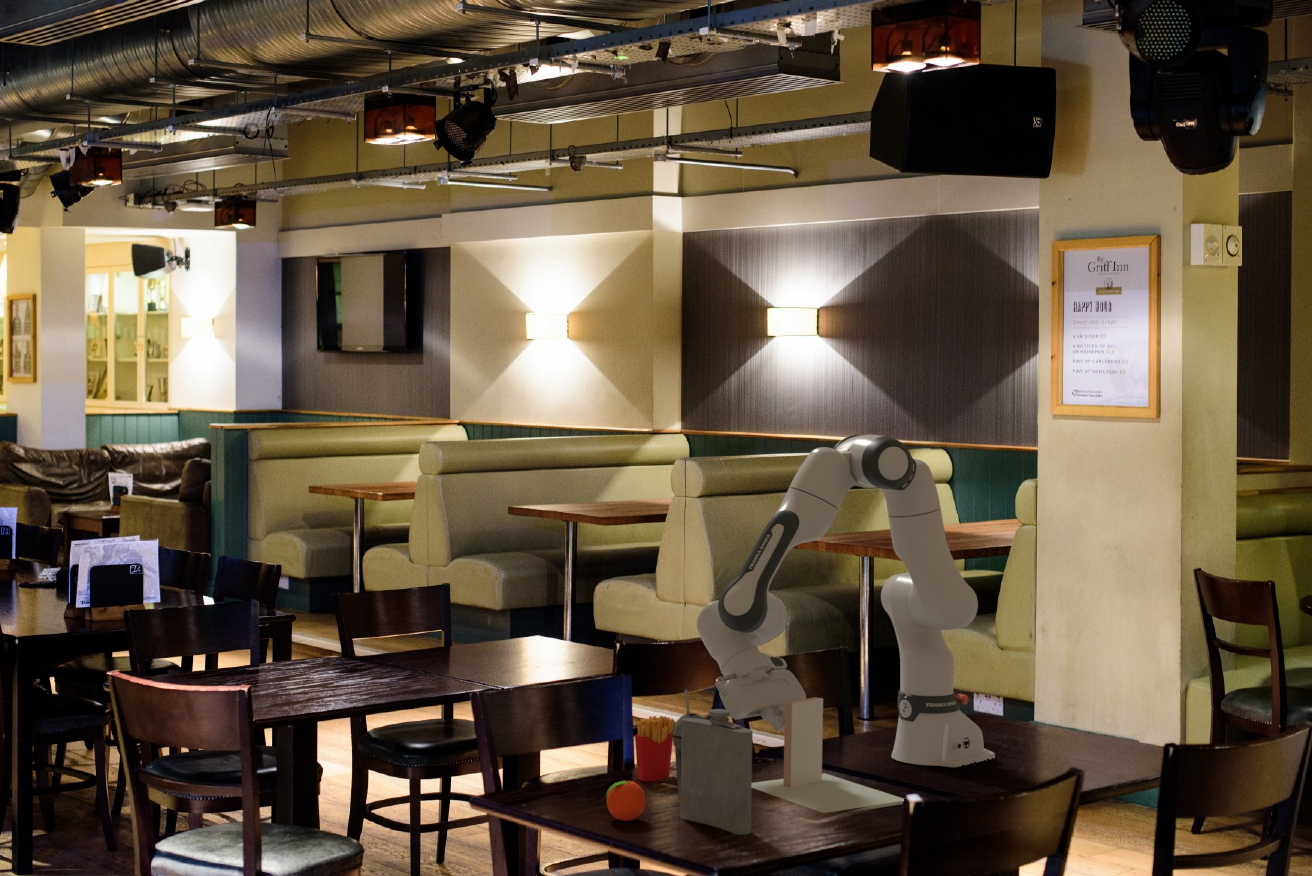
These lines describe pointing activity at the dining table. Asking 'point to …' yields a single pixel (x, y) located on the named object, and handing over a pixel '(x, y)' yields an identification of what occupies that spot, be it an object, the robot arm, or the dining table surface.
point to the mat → (830, 794)
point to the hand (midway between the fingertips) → (783, 728)
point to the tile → (803, 741)
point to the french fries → (654, 748)
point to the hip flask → (716, 772)
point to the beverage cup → (678, 740)
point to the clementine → (626, 800)
